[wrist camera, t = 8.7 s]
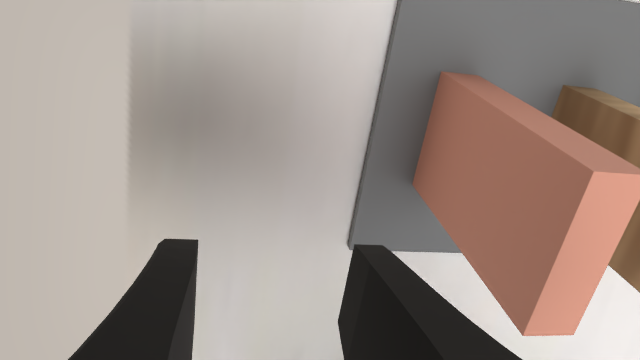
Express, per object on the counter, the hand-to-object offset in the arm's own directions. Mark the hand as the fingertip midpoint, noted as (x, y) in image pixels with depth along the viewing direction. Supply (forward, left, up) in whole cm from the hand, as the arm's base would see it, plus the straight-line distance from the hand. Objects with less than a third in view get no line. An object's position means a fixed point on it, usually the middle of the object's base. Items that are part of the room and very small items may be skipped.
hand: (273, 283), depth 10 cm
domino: (+5, -6, -10) cm, 13 cm away
